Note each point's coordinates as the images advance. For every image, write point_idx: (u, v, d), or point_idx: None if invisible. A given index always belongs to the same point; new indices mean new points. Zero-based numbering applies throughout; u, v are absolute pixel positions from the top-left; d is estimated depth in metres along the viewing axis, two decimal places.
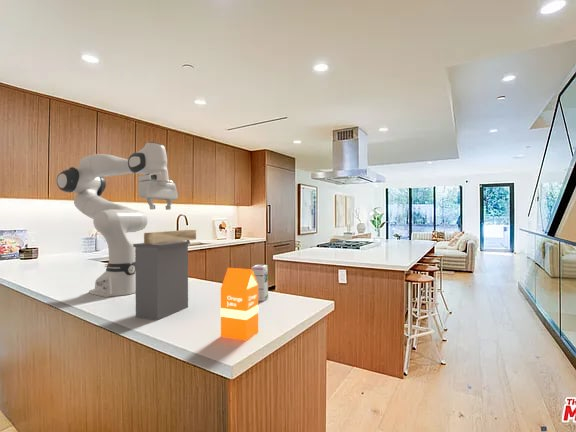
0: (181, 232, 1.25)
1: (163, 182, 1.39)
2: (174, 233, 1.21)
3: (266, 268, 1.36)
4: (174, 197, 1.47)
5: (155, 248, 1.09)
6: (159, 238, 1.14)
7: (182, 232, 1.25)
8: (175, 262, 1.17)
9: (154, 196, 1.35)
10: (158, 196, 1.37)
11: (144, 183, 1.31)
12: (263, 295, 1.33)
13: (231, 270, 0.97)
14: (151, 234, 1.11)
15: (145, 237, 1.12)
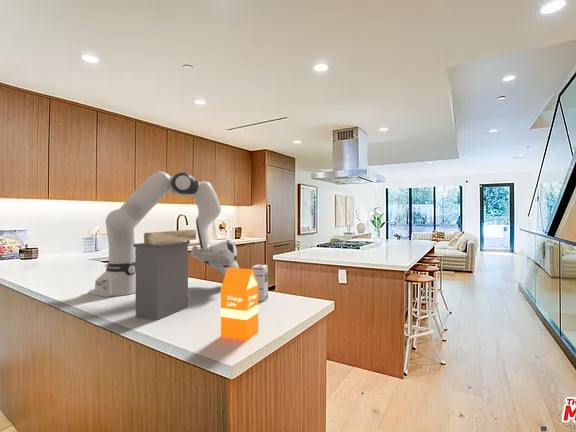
0: (181, 232, 1.25)
1: (214, 264, 1.49)
2: (174, 233, 1.21)
3: (266, 268, 1.36)
4: (194, 255, 1.47)
5: (155, 248, 1.09)
6: (159, 238, 1.14)
7: (182, 232, 1.25)
8: (175, 262, 1.17)
9: (216, 256, 1.42)
10: (212, 256, 1.43)
11: (231, 260, 1.45)
12: (263, 295, 1.33)
13: (231, 270, 0.97)
14: (151, 234, 1.11)
15: (145, 237, 1.12)
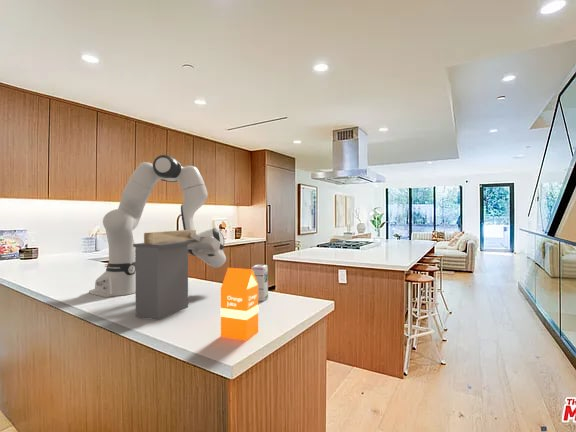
0: (181, 232, 1.25)
1: (198, 252, 1.37)
2: (174, 233, 1.21)
3: (266, 268, 1.36)
4: None
5: (155, 248, 1.09)
6: (159, 238, 1.14)
7: (182, 232, 1.25)
8: (175, 262, 1.17)
9: (200, 243, 1.31)
10: (195, 243, 1.32)
11: (215, 248, 1.34)
12: (263, 295, 1.33)
13: (231, 270, 0.97)
14: (151, 234, 1.11)
15: (145, 237, 1.12)
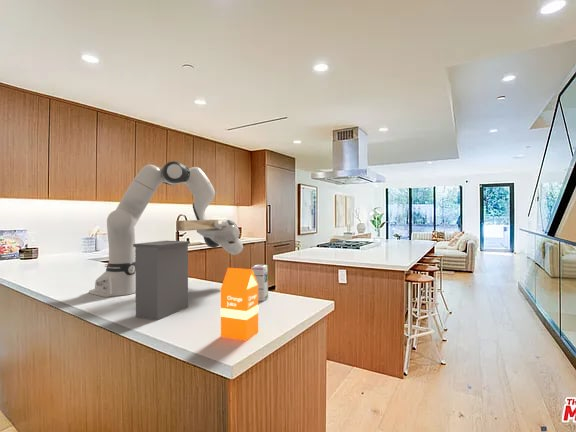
0: (206, 221, 1.40)
1: (219, 240, 1.53)
2: (201, 222, 1.37)
3: (266, 268, 1.36)
4: (200, 231, 1.51)
5: (155, 248, 1.09)
6: (189, 226, 1.29)
7: (207, 221, 1.41)
8: (175, 262, 1.17)
9: (222, 232, 1.47)
10: (218, 232, 1.48)
11: (236, 236, 1.50)
12: (263, 295, 1.33)
13: (231, 270, 0.97)
14: (183, 222, 1.26)
15: (177, 224, 1.27)
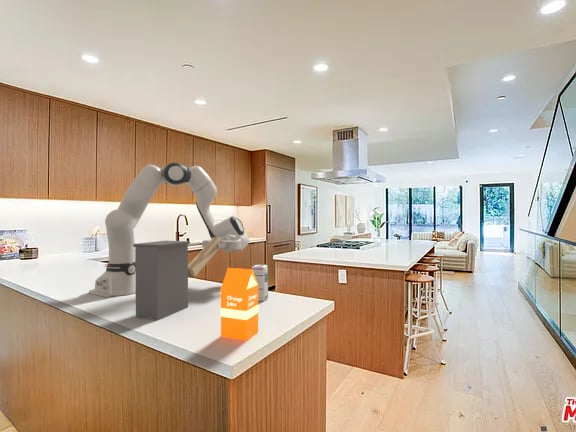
0: (211, 249, 1.43)
1: None
2: (206, 255, 1.40)
3: (266, 268, 1.36)
4: None
5: (155, 248, 1.09)
6: (198, 269, 1.35)
7: (211, 248, 1.44)
8: (175, 262, 1.17)
9: (228, 248, 1.51)
10: (224, 248, 1.52)
11: (241, 246, 1.55)
12: (263, 295, 1.33)
13: (231, 270, 0.97)
14: (191, 270, 1.32)
15: None
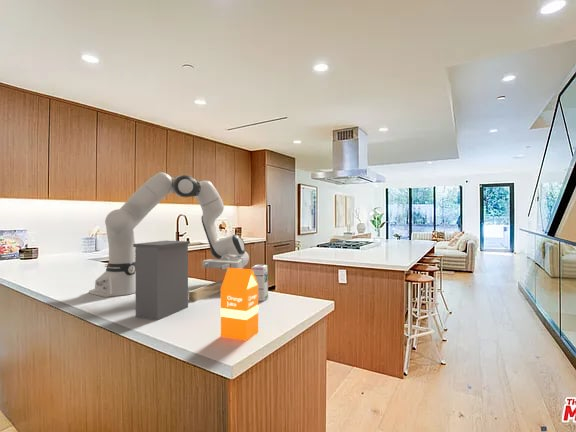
0: (216, 286, 1.47)
1: None
2: (211, 288, 1.44)
3: (266, 268, 1.36)
4: None
5: (155, 248, 1.09)
6: (200, 295, 1.36)
7: (217, 286, 1.48)
8: (175, 262, 1.17)
9: None
10: None
11: (241, 267, 1.55)
12: (263, 295, 1.33)
13: (231, 270, 0.97)
14: (195, 293, 1.34)
15: (190, 295, 1.35)
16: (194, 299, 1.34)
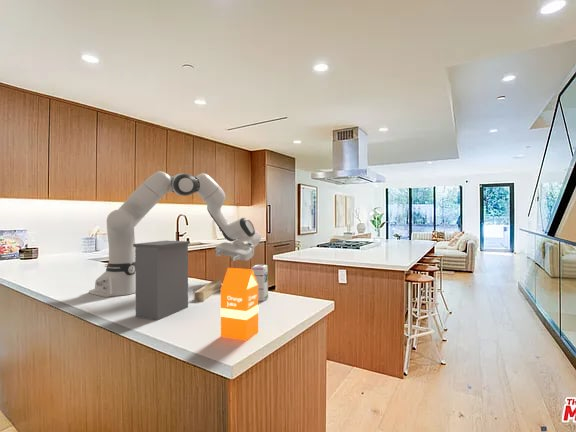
0: (215, 285, 1.48)
1: None
2: (212, 288, 1.44)
3: (266, 268, 1.36)
4: None
5: (155, 248, 1.09)
6: (206, 295, 1.36)
7: (215, 285, 1.49)
8: (175, 262, 1.17)
9: None
10: None
11: (251, 255, 1.64)
12: (263, 295, 1.33)
13: (231, 270, 0.97)
14: (202, 293, 1.33)
15: (196, 296, 1.34)
16: (201, 299, 1.33)
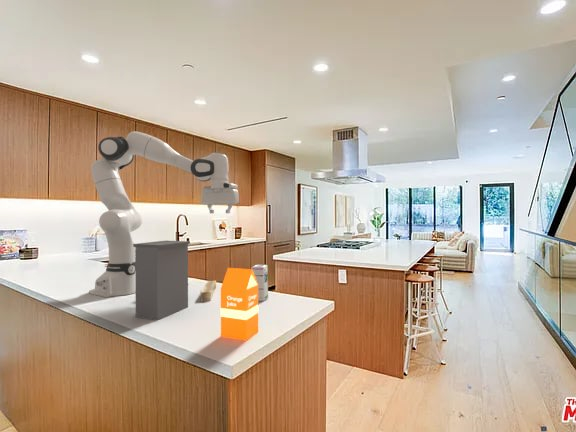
0: (214, 285, 1.49)
1: None
2: (213, 287, 1.45)
3: (266, 268, 1.36)
4: None
5: (155, 248, 1.09)
6: (211, 295, 1.37)
7: (214, 285, 1.49)
8: (175, 262, 1.17)
9: None
10: None
11: (237, 191, 1.55)
12: (263, 295, 1.33)
13: (231, 270, 0.97)
14: (209, 293, 1.34)
15: (202, 296, 1.33)
16: (208, 299, 1.34)
